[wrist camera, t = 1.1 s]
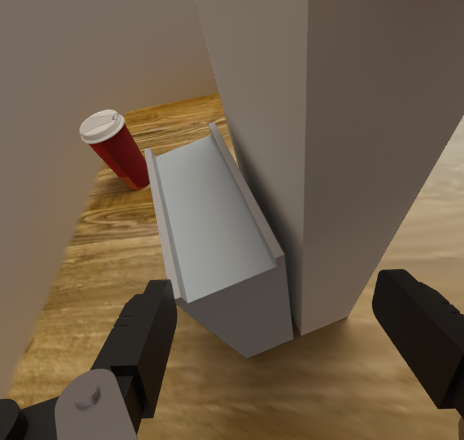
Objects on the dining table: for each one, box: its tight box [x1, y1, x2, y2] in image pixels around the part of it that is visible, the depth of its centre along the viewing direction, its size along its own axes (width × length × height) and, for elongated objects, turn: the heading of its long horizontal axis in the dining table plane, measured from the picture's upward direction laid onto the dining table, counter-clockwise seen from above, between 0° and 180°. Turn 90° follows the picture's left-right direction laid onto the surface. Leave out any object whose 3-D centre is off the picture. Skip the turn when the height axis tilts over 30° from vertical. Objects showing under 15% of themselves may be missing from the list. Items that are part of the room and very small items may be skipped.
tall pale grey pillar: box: [195, 0, 464, 336], centre depth 21 cm, size 13×6×33 cm, turn 19°
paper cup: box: [80, 110, 150, 190], centre depth 47 cm, size 8×8×14 cm
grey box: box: [144, 122, 293, 359], centre depth 25 cm, size 13×6×22 cm, turn 19°
